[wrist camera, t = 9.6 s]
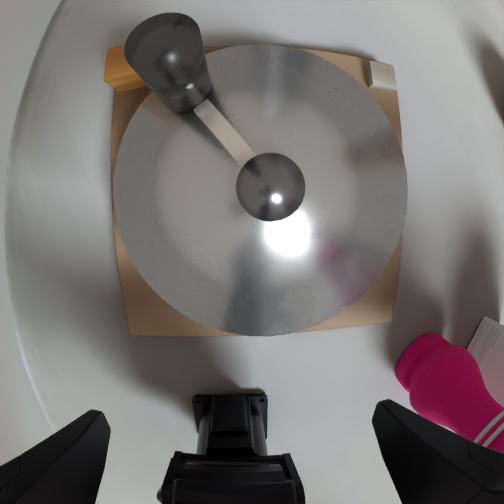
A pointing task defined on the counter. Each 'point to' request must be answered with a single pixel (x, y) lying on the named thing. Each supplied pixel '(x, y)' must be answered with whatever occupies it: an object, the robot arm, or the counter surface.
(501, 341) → the skincare box
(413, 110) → the counter surface
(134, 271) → the dial base
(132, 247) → the dial
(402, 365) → the pepper mill
